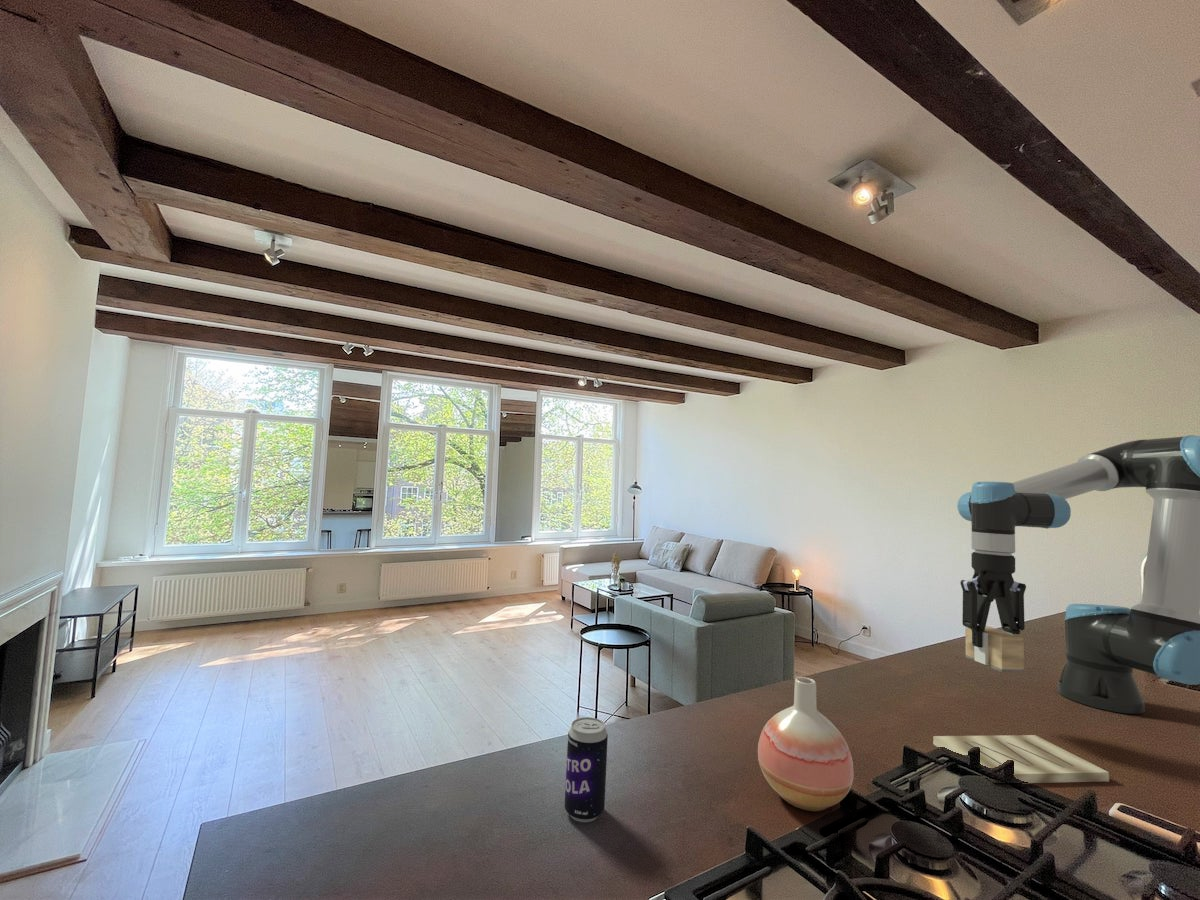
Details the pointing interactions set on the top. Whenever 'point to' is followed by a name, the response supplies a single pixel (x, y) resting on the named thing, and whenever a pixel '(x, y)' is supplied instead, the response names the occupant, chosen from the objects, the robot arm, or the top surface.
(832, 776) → the vase
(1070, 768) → the board
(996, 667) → the block
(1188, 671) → the robot arm
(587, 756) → the beverage can
